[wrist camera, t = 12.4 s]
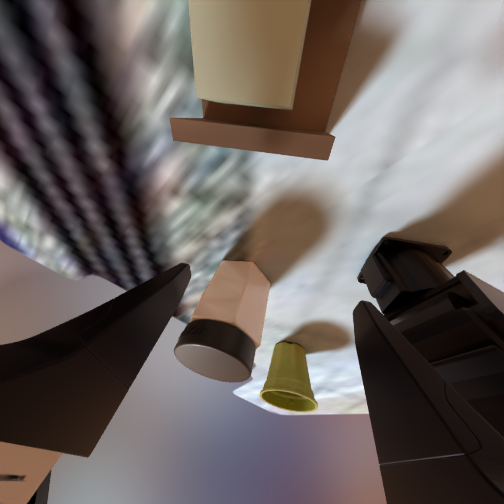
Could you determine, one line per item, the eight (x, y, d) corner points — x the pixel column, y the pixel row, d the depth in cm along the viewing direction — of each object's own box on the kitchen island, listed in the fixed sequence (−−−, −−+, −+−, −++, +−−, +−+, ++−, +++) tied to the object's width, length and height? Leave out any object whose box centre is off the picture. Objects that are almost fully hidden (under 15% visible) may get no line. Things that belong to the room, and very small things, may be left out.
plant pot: (289, 330, 32) (287, 387, 26) (324, 354, 35) (330, 411, 28) (257, 344, 38) (248, 393, 31) (289, 363, 40) (288, 413, 33)
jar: (226, 247, 24) (179, 330, 15) (279, 273, 25) (267, 368, 15) (209, 285, 29) (167, 363, 20) (252, 305, 30) (232, 389, 21)
